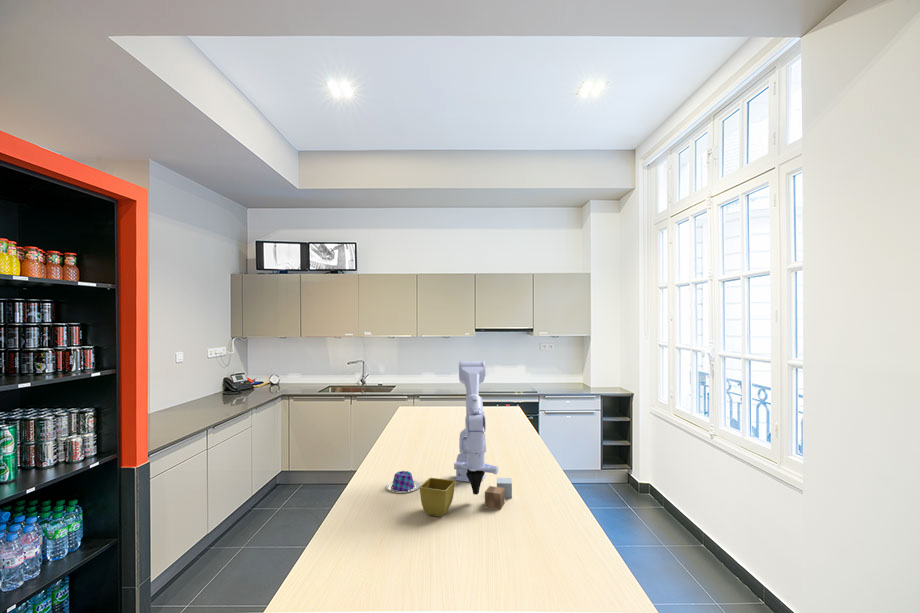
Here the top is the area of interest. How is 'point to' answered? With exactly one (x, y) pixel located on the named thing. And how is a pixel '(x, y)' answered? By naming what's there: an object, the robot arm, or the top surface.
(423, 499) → the flower pot
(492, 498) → the walnut cube
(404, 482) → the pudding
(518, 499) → the top surface
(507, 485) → the slate-grey cube
